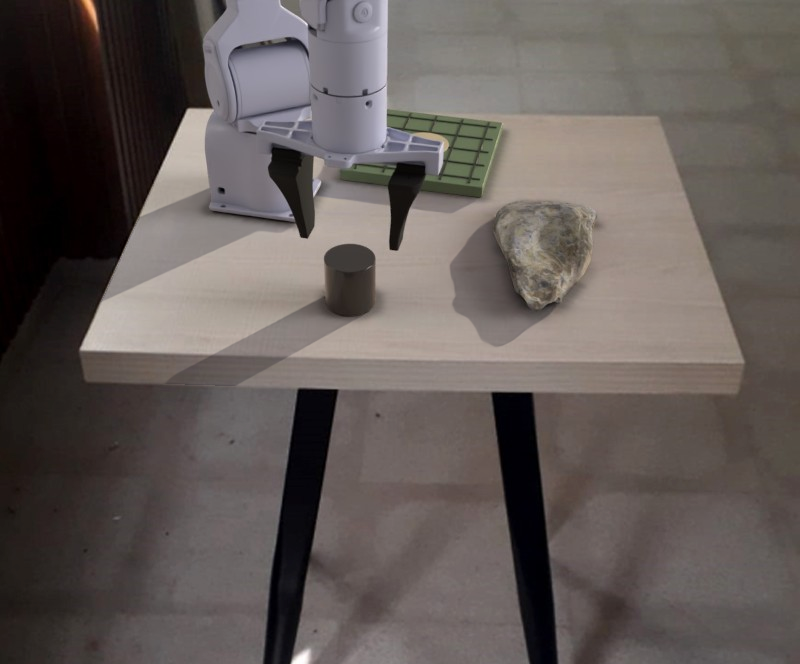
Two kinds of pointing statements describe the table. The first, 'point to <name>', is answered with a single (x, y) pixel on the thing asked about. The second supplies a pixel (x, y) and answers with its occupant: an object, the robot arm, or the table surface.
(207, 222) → the table surface
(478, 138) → the board
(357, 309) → the dark grey cylinder
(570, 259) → the stone
